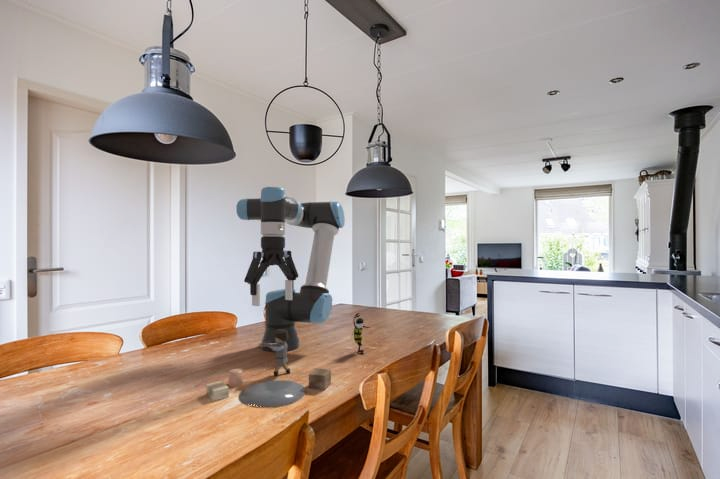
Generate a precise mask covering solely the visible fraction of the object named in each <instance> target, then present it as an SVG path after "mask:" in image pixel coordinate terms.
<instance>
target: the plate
mask: <svg viewBox="0 0 720 479" xmlns="http://www.w3.org/2000/svg"><path fill="white" fill-rule="evenodd" d="M305 393H306V389H305V387H304V386H303V384H301V383H299V382H296V381H290V380H284V379H283V380H281V379H278V380H275V379H274V380H266V381H261V382H258V383H254V384H252V385H249V386H247V387H245V388H243V390H242V391H241V392H239V394H238V400H239V401H240V402H241V404H243V403H244V404H243V405H245V404H247V405H246V406H248V404H249V405H251V404H252V406H253V405H254V404H255V406H256V405H257V406H258V407H260V406H261V407H273V408H278V406H281V407H284V406H283V405H285V406H289V405H292V404H293V402H294V403H296V402H298V401H299V399H300V400H301V399H302V398H304V397H305V395H306V394H305ZM288 404H289V405H288ZM252 406H251V407H252ZM258 407H257V408H258Z"/></svg>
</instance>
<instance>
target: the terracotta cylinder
mask: <svg viewBox="0 0 720 479" xmlns="http://www.w3.org/2000/svg"><path fill="white" fill-rule="evenodd" d="M243 371H244V370H243V369H242V368H233V369H230V370H228V375H227V376H228V379H227V380H228V382H227V383H228V385H227V386H228V387H230V386H231V388H236V386H237V387H240V385H241V386H242V385H243V384H244V383H243V380H244V379H243V377H244V376H243Z"/></svg>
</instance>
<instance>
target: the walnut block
mask: <svg viewBox="0 0 720 479" xmlns="http://www.w3.org/2000/svg"><path fill="white" fill-rule="evenodd" d="M331 375H332V369H326V368H324V369H323V368H314V369H313V370H312V371H311V372H309V373H308V389H309V390H310V389H311V390H318V391H326V390H327V389H328V388H329V387H330V386H331V384H332V376H331Z"/></svg>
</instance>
